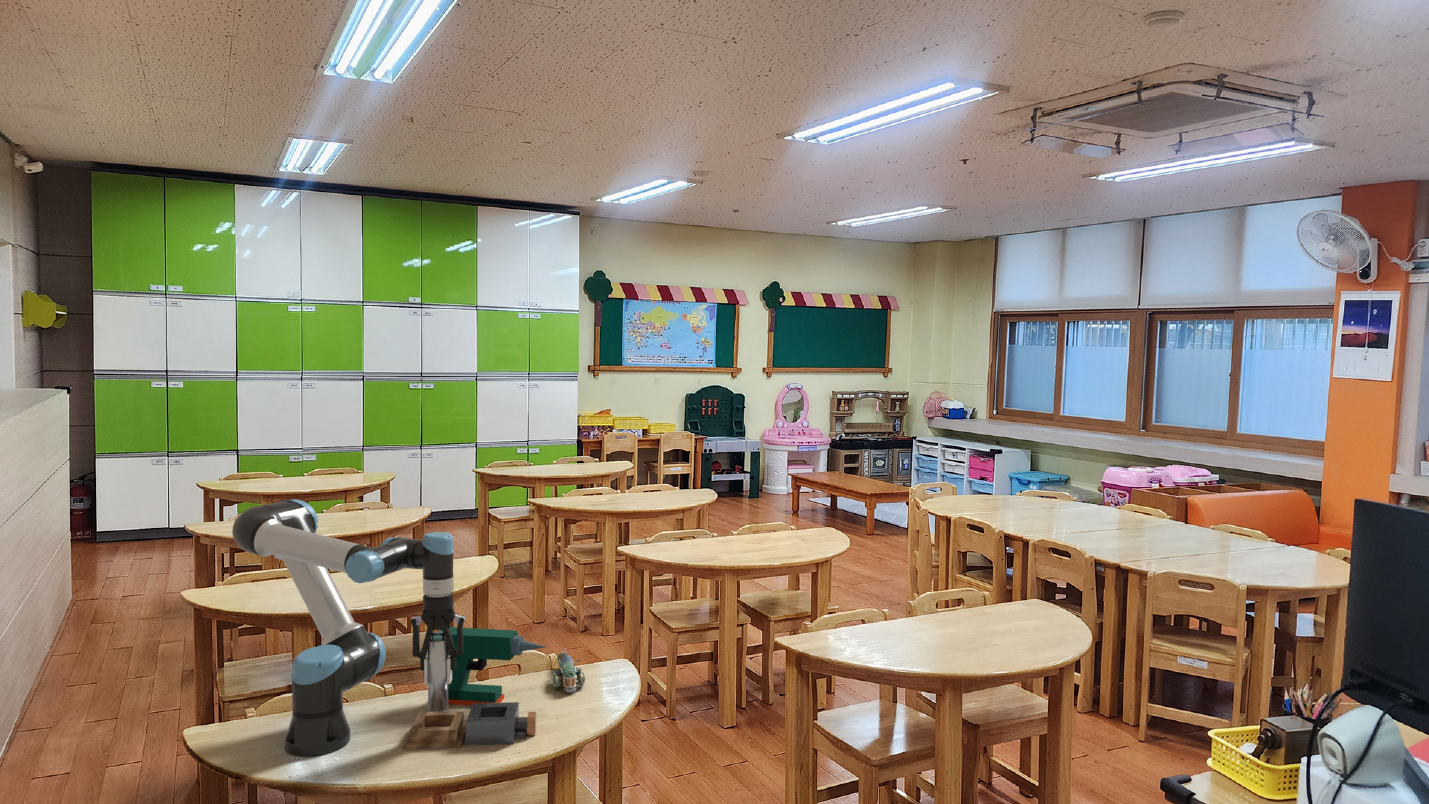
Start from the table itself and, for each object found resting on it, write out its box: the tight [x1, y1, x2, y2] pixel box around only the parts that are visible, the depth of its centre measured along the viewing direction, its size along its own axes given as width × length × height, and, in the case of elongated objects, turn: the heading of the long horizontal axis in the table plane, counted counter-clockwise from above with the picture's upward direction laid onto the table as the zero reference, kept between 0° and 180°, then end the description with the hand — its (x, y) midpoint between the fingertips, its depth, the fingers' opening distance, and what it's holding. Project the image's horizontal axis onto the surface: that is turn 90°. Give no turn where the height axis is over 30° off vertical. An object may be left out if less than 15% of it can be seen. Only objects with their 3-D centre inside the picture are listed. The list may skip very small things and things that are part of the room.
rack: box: [402, 710, 467, 750], centre depth 226 cm, size 14×14×4 cm
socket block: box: [465, 701, 526, 746], centre depth 227 cm, size 14×12×6 cm
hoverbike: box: [551, 647, 586, 694], centre depth 266 cm, size 10×25×8 cm, turn 15°
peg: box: [427, 630, 449, 712], centre depth 225 cm, size 5×5×20 cm
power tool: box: [439, 626, 546, 706], centre depth 248 cm, size 32×7×20 cm, turn 84°
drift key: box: [516, 711, 537, 736], centre depth 228 cm, size 8×4×5 cm, turn 97°
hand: (438, 682), depth 225 cm, fingers closed on peg, 5 cm apart
